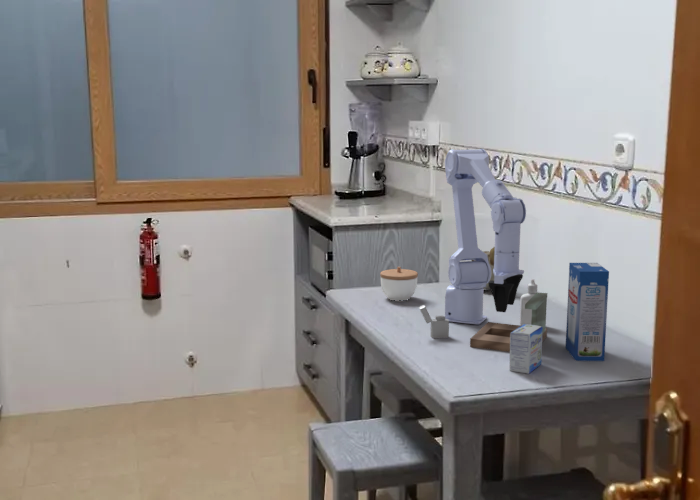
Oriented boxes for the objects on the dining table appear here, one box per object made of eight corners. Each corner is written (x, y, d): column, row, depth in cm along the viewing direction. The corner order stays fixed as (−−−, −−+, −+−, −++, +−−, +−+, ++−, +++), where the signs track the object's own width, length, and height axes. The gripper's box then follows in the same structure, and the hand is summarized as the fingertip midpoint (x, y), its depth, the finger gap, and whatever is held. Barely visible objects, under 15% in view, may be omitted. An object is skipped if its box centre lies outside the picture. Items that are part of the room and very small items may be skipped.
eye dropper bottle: (538, 329, 207) (540, 282, 205) (517, 326, 210) (518, 279, 208) (544, 325, 211) (546, 279, 209) (523, 322, 214) (525, 276, 212)
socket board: (470, 347, 192) (471, 300, 190) (487, 329, 207) (489, 286, 205) (532, 354, 186) (534, 306, 184) (546, 336, 201) (548, 292, 199)
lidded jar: (420, 295, 243) (420, 264, 241) (414, 304, 233) (414, 271, 231) (383, 293, 246) (384, 262, 244) (376, 302, 235) (376, 269, 234)
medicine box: (528, 375, 173) (530, 334, 171) (508, 371, 175) (509, 331, 173) (541, 364, 179) (543, 326, 178) (522, 361, 182) (523, 323, 180)
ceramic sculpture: (508, 290, 250) (510, 240, 247) (494, 295, 243) (496, 244, 241) (477, 285, 257) (478, 237, 254) (463, 290, 250) (464, 241, 247)
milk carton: (565, 347, 192) (569, 262, 188) (592, 347, 191) (597, 262, 188) (575, 360, 182) (580, 271, 178) (604, 361, 182) (609, 271, 178)
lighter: (447, 335, 201) (447, 303, 200) (448, 337, 200) (449, 305, 198) (418, 337, 200) (418, 304, 199) (419, 339, 199) (420, 306, 197)
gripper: (517, 257, 185) (514, 316, 187) (530, 247, 198) (528, 302, 200) (485, 255, 188) (484, 313, 190) (501, 245, 201) (499, 299, 203)
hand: (505, 307), depth 196 cm, fingers open, 7 cm apart
